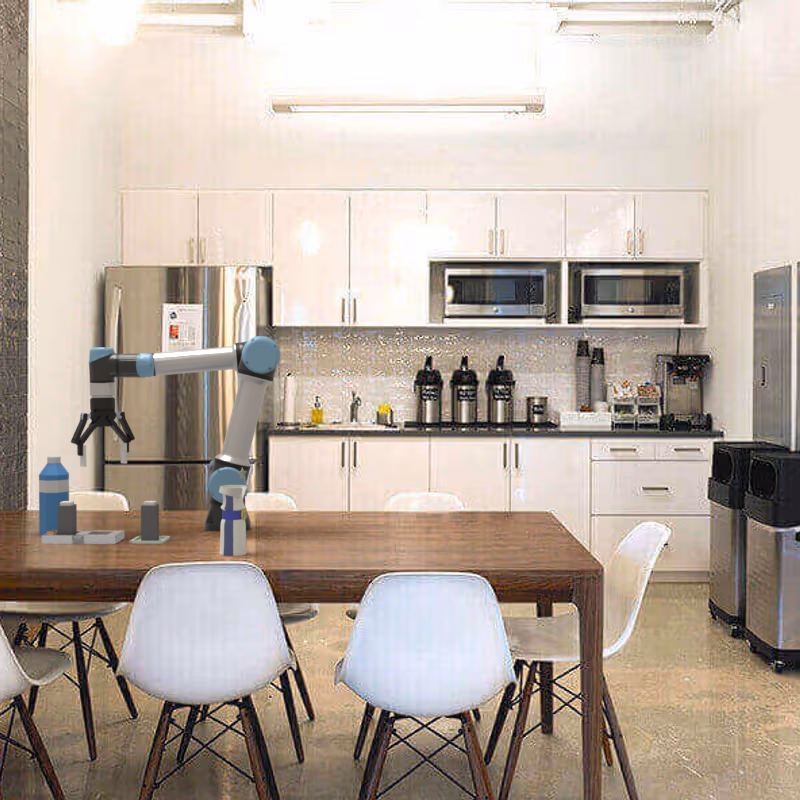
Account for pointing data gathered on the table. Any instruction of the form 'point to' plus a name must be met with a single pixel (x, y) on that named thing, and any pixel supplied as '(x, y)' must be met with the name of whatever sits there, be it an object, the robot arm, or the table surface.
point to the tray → (138, 541)
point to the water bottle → (52, 493)
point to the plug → (149, 521)
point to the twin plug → (67, 518)
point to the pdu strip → (84, 537)
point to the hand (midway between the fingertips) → (103, 465)
